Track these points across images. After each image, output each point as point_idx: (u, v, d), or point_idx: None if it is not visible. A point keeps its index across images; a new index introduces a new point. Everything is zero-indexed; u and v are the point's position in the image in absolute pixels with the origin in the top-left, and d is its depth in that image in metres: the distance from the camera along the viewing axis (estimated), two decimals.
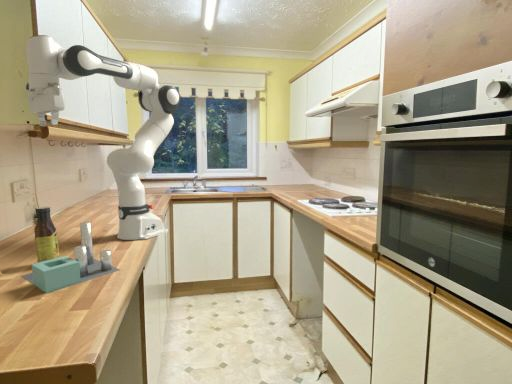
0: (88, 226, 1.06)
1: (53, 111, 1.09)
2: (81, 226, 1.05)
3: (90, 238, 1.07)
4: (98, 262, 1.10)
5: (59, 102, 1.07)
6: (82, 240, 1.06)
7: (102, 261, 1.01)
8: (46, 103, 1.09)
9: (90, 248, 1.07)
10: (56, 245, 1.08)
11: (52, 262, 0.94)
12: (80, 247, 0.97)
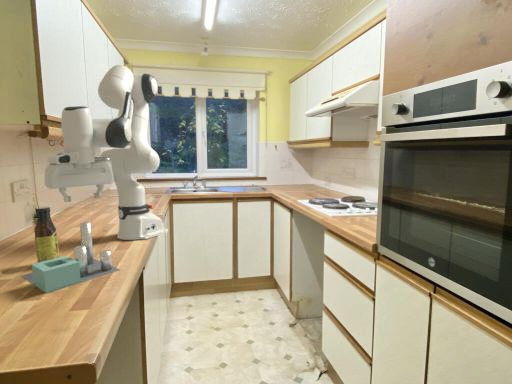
0: (88, 226, 1.06)
1: None
2: (81, 226, 1.05)
3: (90, 238, 1.07)
4: (98, 262, 1.10)
5: None
6: (82, 240, 1.06)
7: (102, 261, 1.01)
8: (98, 177, 1.07)
9: (90, 248, 1.07)
10: (56, 245, 1.08)
11: (52, 262, 0.94)
12: (80, 247, 0.97)
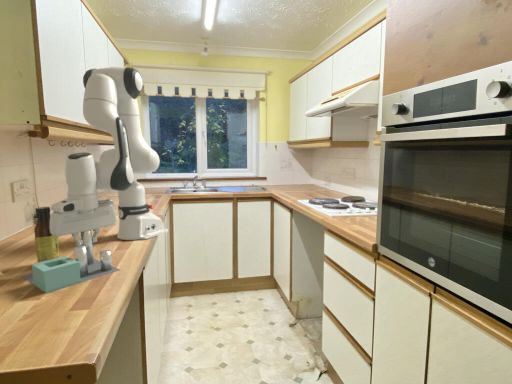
0: None
1: None
2: None
3: (90, 238, 1.07)
4: (98, 262, 1.10)
5: None
6: None
7: (102, 261, 1.01)
8: (101, 221, 1.09)
9: (90, 248, 1.07)
10: (56, 245, 1.08)
11: (52, 262, 0.94)
12: (80, 247, 0.97)
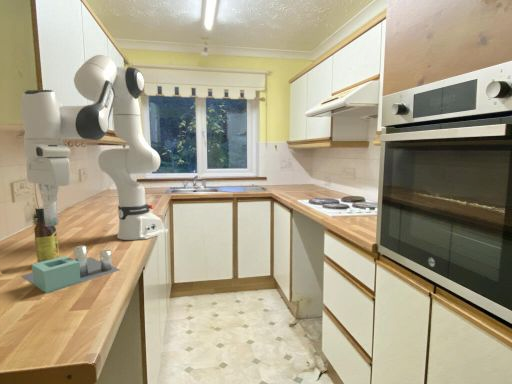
0: None
1: None
2: None
3: None
4: (98, 262, 1.10)
5: None
6: None
7: (102, 261, 1.01)
8: None
9: None
10: (56, 245, 1.08)
11: (52, 262, 0.94)
12: (80, 247, 0.97)
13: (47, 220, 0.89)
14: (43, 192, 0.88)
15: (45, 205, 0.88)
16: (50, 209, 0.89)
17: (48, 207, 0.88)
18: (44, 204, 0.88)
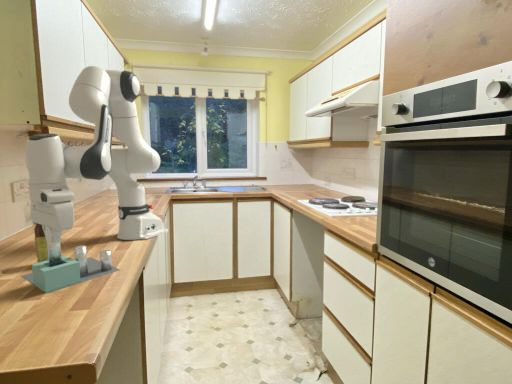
0: None
1: None
2: None
3: None
4: (98, 262, 1.10)
5: None
6: None
7: (102, 261, 1.01)
8: None
9: None
10: None
11: None
12: (80, 247, 0.97)
13: (51, 261, 0.90)
14: (47, 234, 0.89)
15: (49, 246, 0.90)
16: (54, 250, 0.90)
17: (52, 249, 0.90)
18: (48, 245, 0.90)
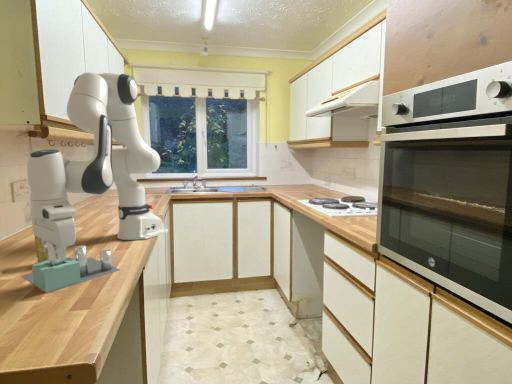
0: None
1: None
2: None
3: None
4: (98, 262, 1.10)
5: None
6: None
7: (102, 261, 1.01)
8: None
9: None
10: None
11: None
12: (80, 247, 0.97)
13: None
14: (49, 253, 0.90)
15: (51, 265, 0.91)
16: None
17: None
18: (50, 264, 0.91)
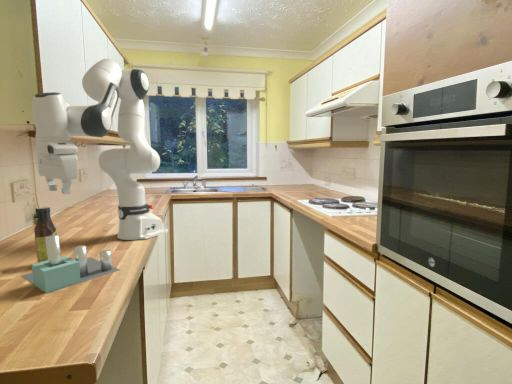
0: None
1: None
2: (56, 239, 0.90)
3: None
4: (98, 262, 1.10)
5: None
6: (58, 255, 0.91)
7: (102, 261, 1.01)
8: None
9: None
10: None
11: None
12: (80, 247, 0.97)
13: None
14: (48, 253, 0.90)
15: (51, 265, 0.90)
16: None
17: None
18: (50, 264, 0.90)
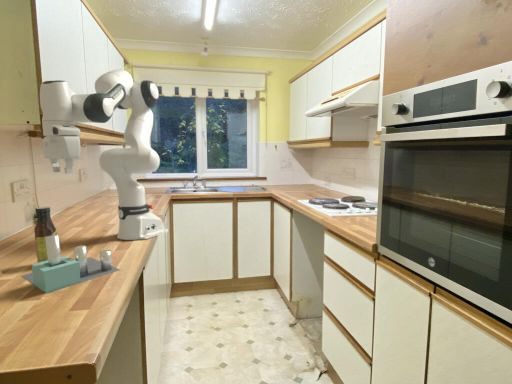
0: None
1: None
2: (56, 239, 0.90)
3: None
4: (98, 262, 1.10)
5: None
6: (58, 255, 0.91)
7: (102, 261, 1.01)
8: None
9: None
10: None
11: None
12: (80, 247, 0.97)
13: None
14: (48, 253, 0.90)
15: (50, 265, 0.90)
16: None
17: None
18: (50, 264, 0.91)
